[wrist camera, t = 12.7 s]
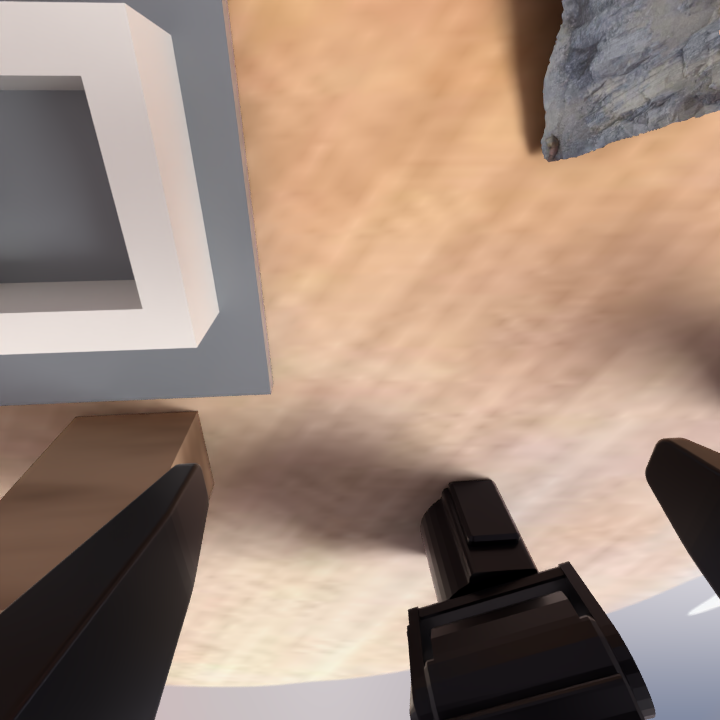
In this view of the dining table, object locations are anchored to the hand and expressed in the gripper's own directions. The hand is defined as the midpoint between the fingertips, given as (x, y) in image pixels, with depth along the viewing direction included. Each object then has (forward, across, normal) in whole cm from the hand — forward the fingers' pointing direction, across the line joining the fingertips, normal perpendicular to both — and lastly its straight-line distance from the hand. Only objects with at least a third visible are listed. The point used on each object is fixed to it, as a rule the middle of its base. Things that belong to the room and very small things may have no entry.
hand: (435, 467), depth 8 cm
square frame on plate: (+12, +12, -4) cm, 17 cm away
